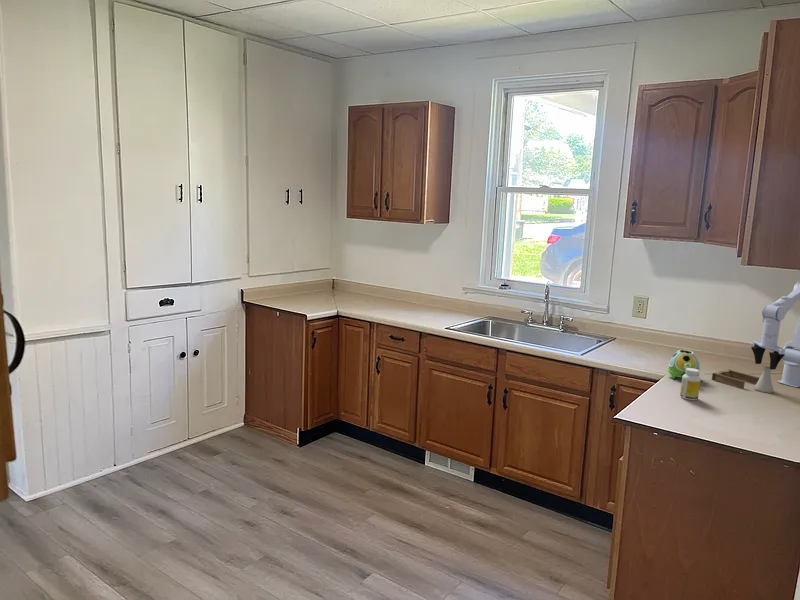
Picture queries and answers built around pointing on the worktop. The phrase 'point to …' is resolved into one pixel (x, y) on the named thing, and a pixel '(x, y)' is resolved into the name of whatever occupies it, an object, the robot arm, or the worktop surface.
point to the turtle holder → (682, 363)
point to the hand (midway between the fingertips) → (765, 366)
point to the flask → (765, 381)
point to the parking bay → (734, 378)
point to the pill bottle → (690, 384)
